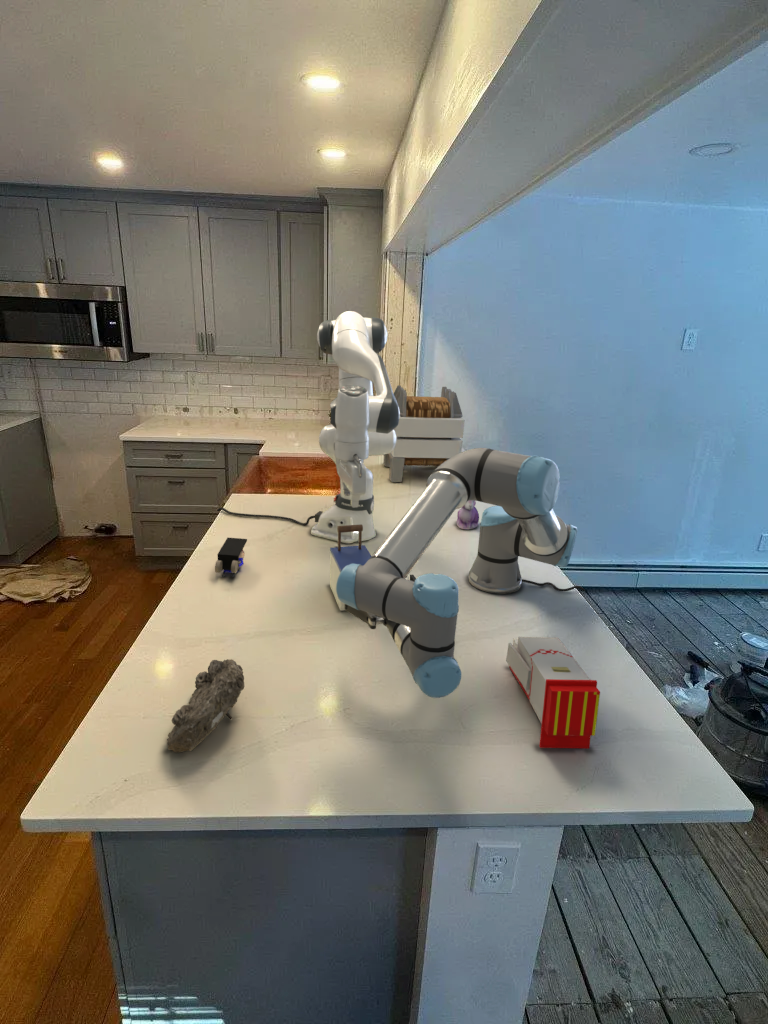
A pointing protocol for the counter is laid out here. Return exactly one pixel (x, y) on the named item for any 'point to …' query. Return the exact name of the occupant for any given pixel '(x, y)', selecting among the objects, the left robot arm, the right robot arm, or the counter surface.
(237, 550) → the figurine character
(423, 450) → the transformer
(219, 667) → the fossil
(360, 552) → the lid
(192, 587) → the counter surface
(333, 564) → the chest
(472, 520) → the figurine
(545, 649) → the toy
